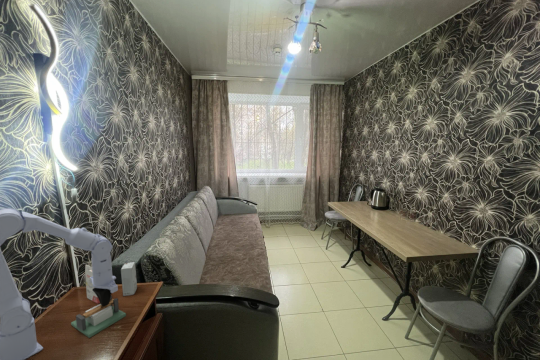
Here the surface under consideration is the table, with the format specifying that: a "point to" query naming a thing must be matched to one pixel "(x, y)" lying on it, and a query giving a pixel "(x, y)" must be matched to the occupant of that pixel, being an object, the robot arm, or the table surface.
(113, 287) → the robot arm
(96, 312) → the strap
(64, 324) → the table surface
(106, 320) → the board
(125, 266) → the skincare box
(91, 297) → the ink cartridge box
